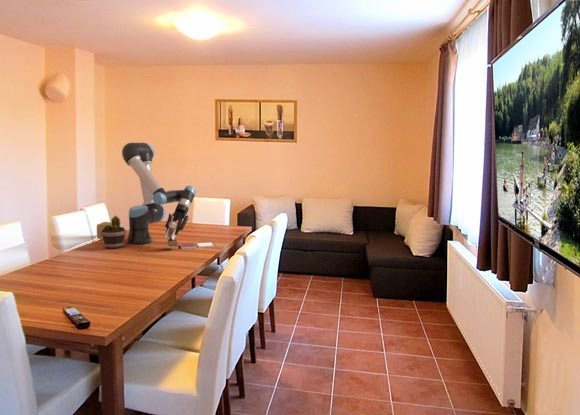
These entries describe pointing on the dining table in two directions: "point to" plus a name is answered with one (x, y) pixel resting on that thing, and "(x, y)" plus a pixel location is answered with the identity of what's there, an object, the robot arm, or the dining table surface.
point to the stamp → (171, 229)
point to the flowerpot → (113, 234)
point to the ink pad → (187, 245)
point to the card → (205, 244)
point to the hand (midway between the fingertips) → (169, 238)
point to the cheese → (101, 226)
